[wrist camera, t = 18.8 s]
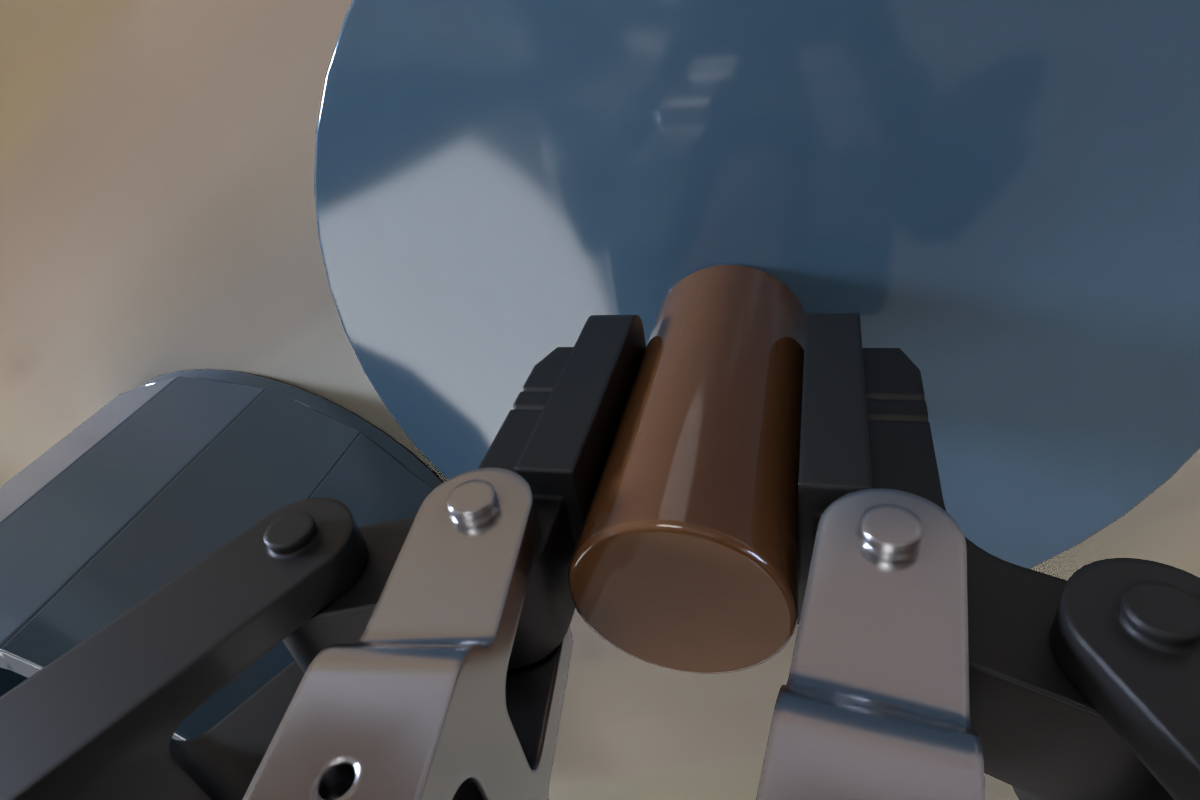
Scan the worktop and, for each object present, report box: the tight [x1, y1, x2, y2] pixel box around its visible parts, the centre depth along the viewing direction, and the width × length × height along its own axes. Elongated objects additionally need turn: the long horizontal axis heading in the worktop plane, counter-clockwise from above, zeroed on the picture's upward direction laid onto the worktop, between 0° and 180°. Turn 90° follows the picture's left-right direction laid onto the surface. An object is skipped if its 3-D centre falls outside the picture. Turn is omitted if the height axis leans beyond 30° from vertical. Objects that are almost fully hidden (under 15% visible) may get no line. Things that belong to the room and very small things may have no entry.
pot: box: [0, 369, 442, 741], centre depth 21 cm, size 14×14×8 cm
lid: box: [314, 0, 1200, 674], centre depth 10 cm, size 15×15×7 cm
